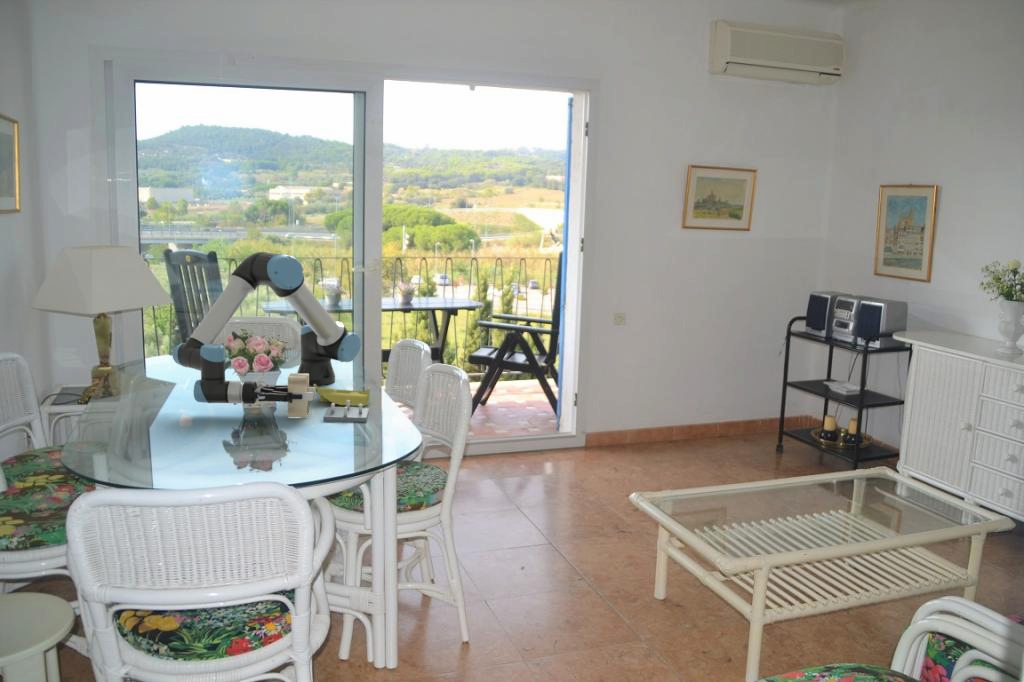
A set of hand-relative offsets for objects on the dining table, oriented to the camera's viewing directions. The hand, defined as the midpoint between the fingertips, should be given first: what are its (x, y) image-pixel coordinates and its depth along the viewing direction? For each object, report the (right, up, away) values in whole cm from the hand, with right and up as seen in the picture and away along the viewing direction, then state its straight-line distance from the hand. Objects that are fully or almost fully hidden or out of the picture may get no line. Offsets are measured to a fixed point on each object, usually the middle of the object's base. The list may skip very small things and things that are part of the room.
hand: (314, 393), depth 275 cm
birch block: (-5, -7, +1) cm, 9 cm away
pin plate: (+10, -8, +3) cm, 13 cm away
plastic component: (+5, -5, +21) cm, 22 cm away
